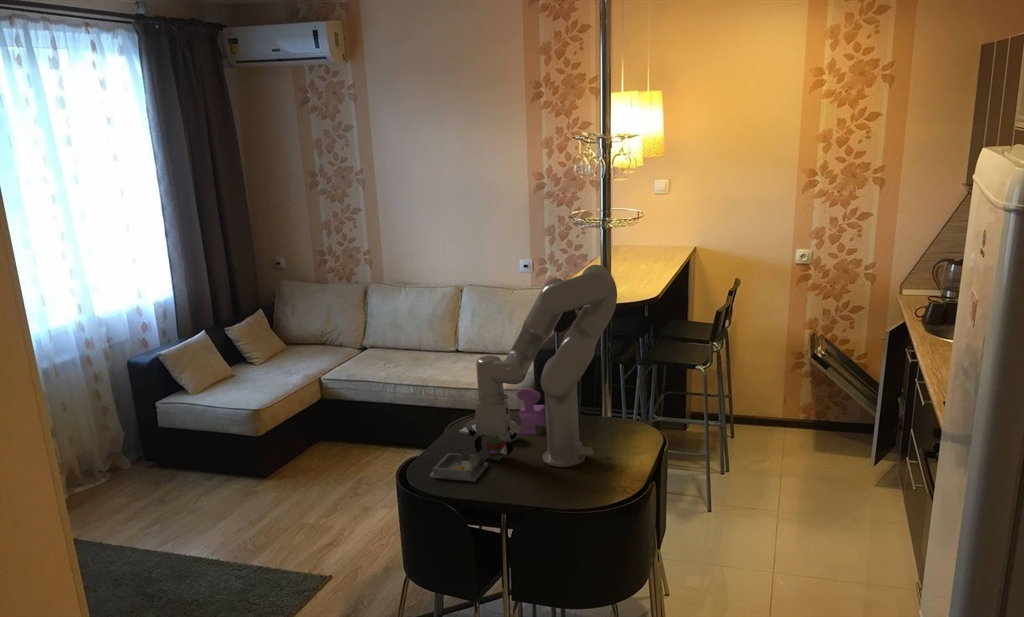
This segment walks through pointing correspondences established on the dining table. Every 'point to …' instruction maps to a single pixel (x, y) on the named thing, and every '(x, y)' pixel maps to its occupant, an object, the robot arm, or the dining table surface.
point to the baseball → (511, 432)
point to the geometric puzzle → (497, 448)
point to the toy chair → (530, 411)
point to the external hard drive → (467, 430)
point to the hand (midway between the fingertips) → (494, 451)
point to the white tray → (459, 468)
